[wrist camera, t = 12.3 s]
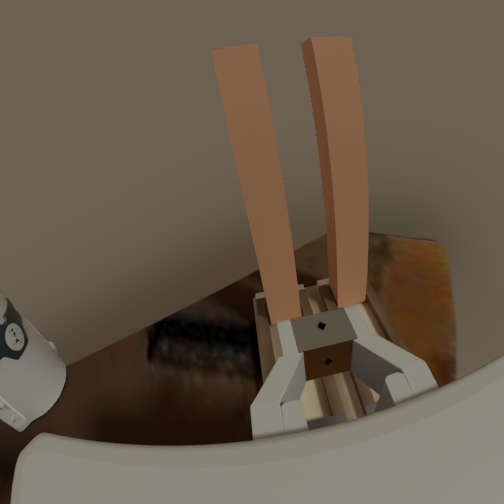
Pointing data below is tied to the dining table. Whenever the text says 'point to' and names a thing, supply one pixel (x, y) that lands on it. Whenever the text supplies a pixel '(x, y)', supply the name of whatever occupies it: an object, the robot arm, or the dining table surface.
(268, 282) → the tab
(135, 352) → the dining table surface
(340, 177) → the tan square post
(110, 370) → the dining table surface
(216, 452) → the robot arm
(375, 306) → the divided tray
